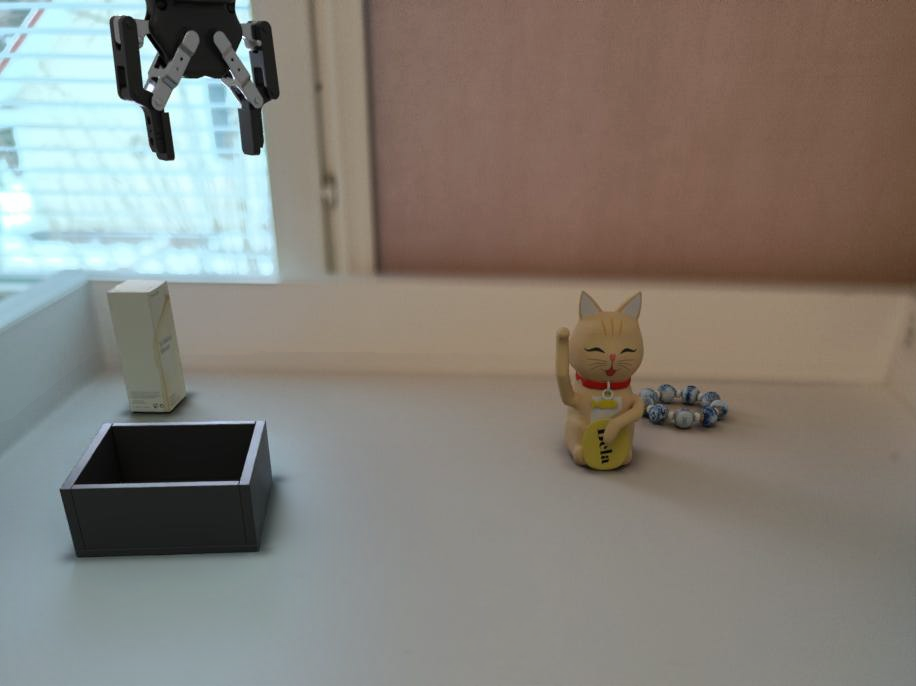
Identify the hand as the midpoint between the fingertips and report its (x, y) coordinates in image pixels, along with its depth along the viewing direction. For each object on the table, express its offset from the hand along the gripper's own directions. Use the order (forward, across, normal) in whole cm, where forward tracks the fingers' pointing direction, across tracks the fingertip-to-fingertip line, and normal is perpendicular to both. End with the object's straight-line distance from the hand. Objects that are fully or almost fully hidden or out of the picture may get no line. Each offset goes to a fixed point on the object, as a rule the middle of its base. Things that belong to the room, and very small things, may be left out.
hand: (209, 157), depth 82 cm
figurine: (+24, -20, +31) cm, 44 cm away
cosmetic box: (+24, +5, -9) cm, 26 cm away
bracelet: (+24, -36, +29) cm, 53 cm away
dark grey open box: (+24, +16, +18) cm, 34 cm away
